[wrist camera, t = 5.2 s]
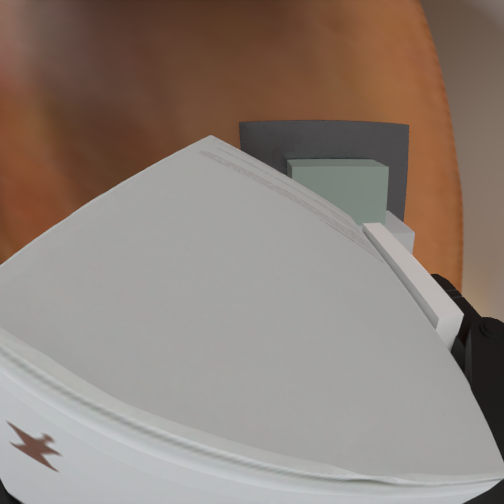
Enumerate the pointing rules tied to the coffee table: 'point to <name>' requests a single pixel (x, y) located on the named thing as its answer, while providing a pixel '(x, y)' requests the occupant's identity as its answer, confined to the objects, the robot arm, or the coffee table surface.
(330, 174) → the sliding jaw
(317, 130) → the vise
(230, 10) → the coffee table surface
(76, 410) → the supplement box
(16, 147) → the coffee table surface
